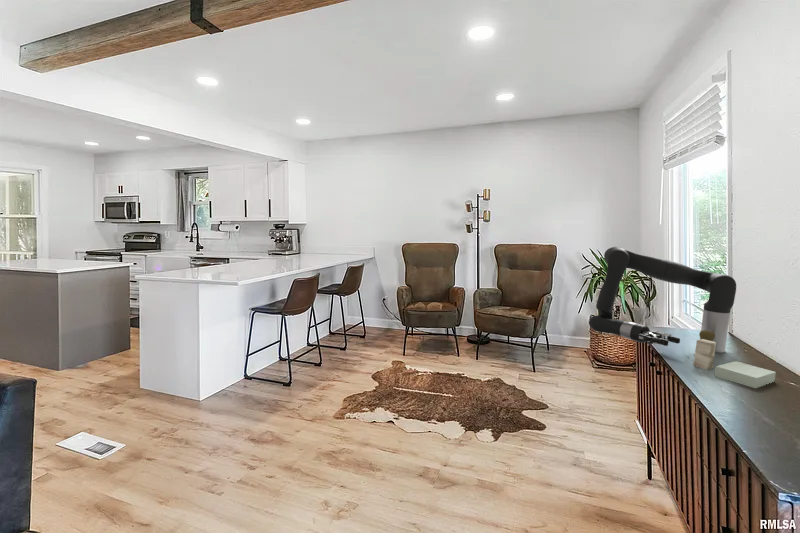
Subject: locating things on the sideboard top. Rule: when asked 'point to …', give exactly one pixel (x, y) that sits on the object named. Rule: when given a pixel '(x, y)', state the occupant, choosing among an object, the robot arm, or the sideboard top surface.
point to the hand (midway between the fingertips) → (673, 342)
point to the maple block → (704, 354)
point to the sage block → (745, 374)
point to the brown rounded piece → (706, 335)
